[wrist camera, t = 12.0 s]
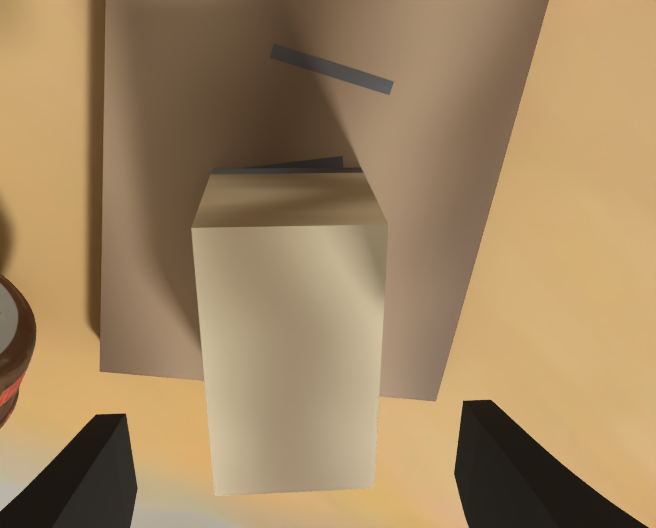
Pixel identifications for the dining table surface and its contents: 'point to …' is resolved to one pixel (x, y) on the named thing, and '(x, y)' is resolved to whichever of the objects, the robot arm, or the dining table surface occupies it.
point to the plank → (305, 150)
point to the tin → (13, 344)
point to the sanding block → (291, 327)
